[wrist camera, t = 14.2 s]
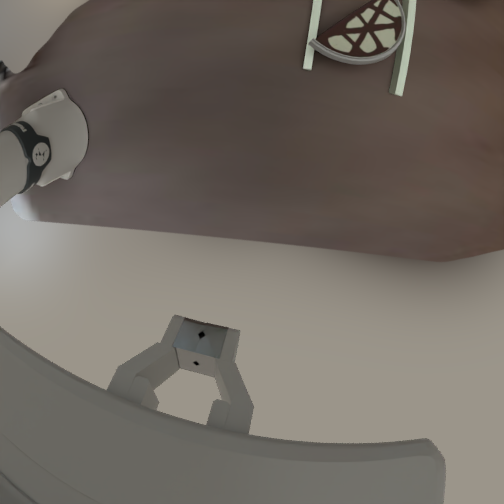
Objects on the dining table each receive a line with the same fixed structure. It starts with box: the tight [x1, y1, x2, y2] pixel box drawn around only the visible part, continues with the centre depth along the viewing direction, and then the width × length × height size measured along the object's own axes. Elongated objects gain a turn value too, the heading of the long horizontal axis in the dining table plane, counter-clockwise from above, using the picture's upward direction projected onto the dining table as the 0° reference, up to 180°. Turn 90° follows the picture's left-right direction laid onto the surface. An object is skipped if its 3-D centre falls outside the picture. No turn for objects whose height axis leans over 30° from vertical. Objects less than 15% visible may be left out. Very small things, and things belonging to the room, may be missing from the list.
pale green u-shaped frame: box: [303, 0, 416, 96], centre depth 22 cm, size 13×18×3 cm
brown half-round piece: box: [308, 0, 406, 65], centre depth 21 cm, size 12×6×10 cm, turn 136°
